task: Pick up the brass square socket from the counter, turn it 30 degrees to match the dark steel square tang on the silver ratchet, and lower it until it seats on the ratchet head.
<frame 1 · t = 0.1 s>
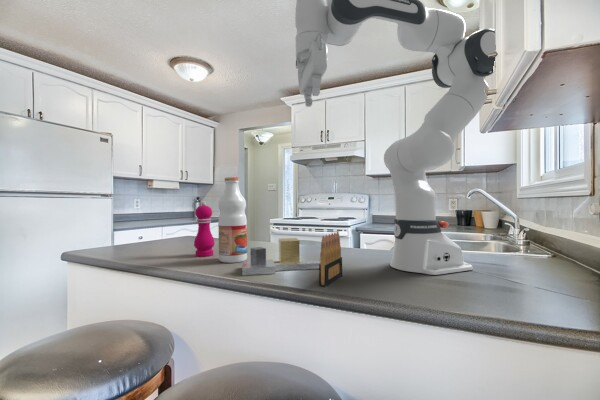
hand: (312, 100, 82), 48 cm above the worktop, fingers open, 8 cm apart
ammunition clip: (331, 281, 75), on the worktop
ratchet: (258, 270, 86), on the worktop
socket: (288, 262, 96), on the worktop
fruit juice: (233, 260, 101), on the worktop
pepper mill: (204, 255, 110), on the worktop
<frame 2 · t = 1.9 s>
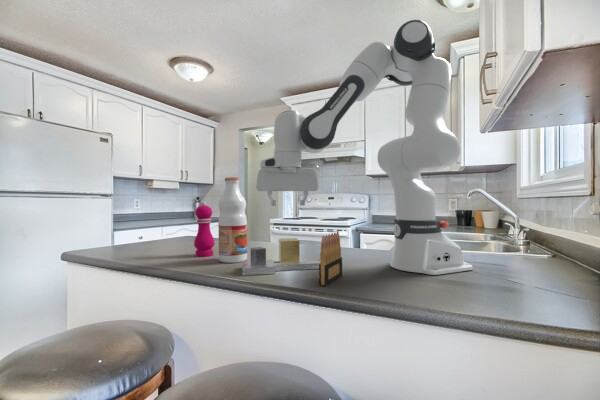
hand: (287, 205, 95), 18 cm above the worktop, fingers open, 8 cm apart
nothing on the worktop moved.
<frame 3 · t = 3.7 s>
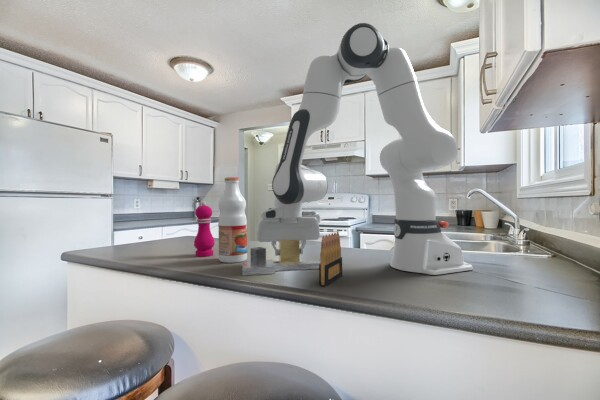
hand: (288, 254, 96), 3 cm above the worktop, fingers closed on socket, 6 cm apart
socket: (288, 262, 96), on the worktop, touching gripper
everything else where it was.
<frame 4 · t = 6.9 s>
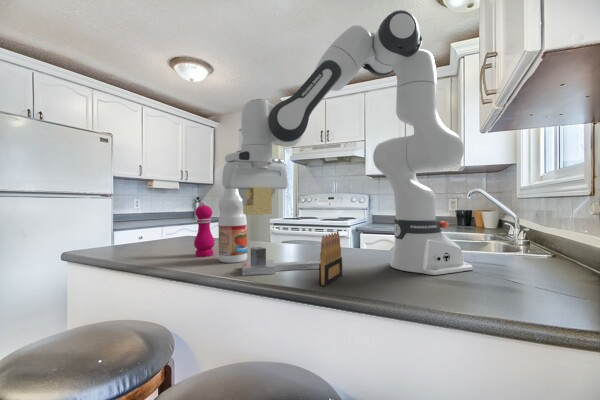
hand: (257, 205, 86), 19 cm above the worktop, fingers closed on socket, 6 cm apart
socket: (257, 213, 86), point 16 cm above the worktop, touching gripper
everything else where it was.
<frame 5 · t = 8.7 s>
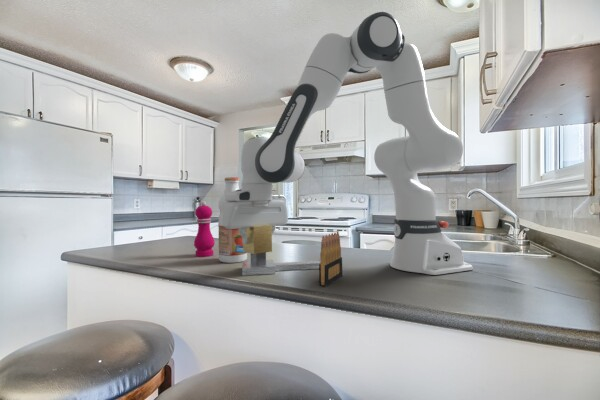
hand: (257, 242, 86), 8 cm above the worktop, fingers closed on socket, 6 cm apart
socket: (257, 251, 86), point 6 cm above the worktop, touching gripper
everything else where it was.
when the fingers open (5 cm above the worktop, at t = 10.0 s): socket stays where it is, resting on ratchet.
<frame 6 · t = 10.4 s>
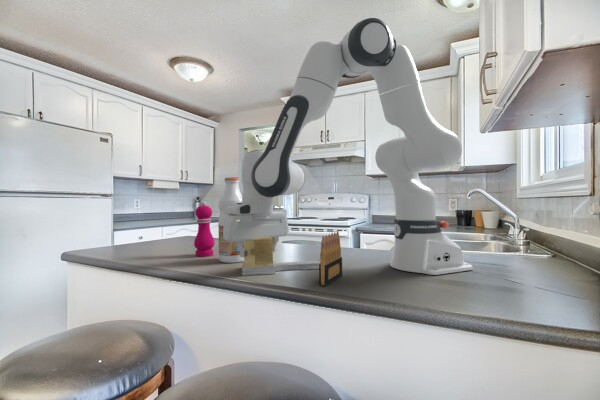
hand: (258, 254, 86), 5 cm above the worktop, fingers open, 8 cm apart
socket: (258, 263, 86), point 2 cm above the worktop, touching ratchet
everything else where it was.
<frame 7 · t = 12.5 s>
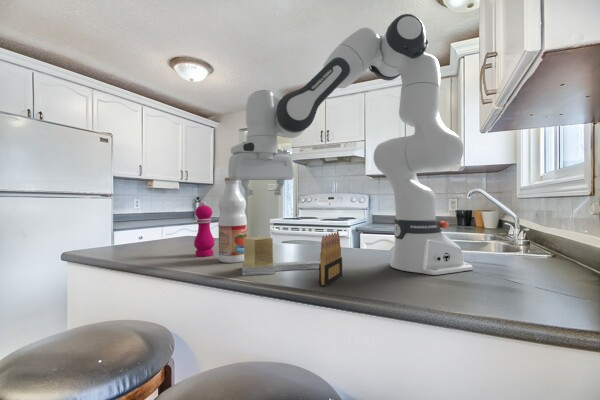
hand: (263, 195, 87), 22 cm above the worktop, fingers open, 8 cm apart
nothing on the worktop moved.
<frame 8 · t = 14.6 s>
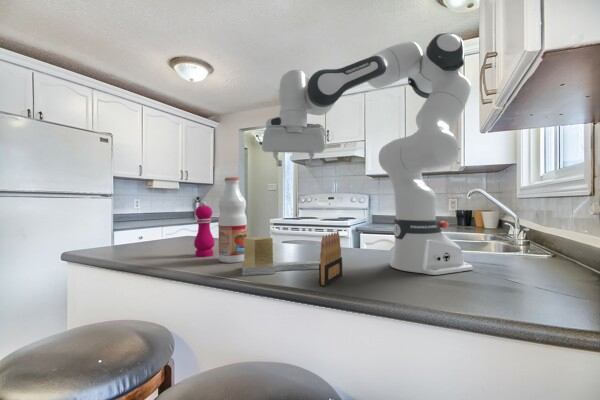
hand: (293, 166, 96), 31 cm above the worktop, fingers open, 8 cm apart
nothing on the worktop moved.
at the end: socket 0.0 cm off-centre on the ratchet, point 2.0 cm above the ratchet's base; socket tilted 0°; the gripper is holding nothing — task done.
